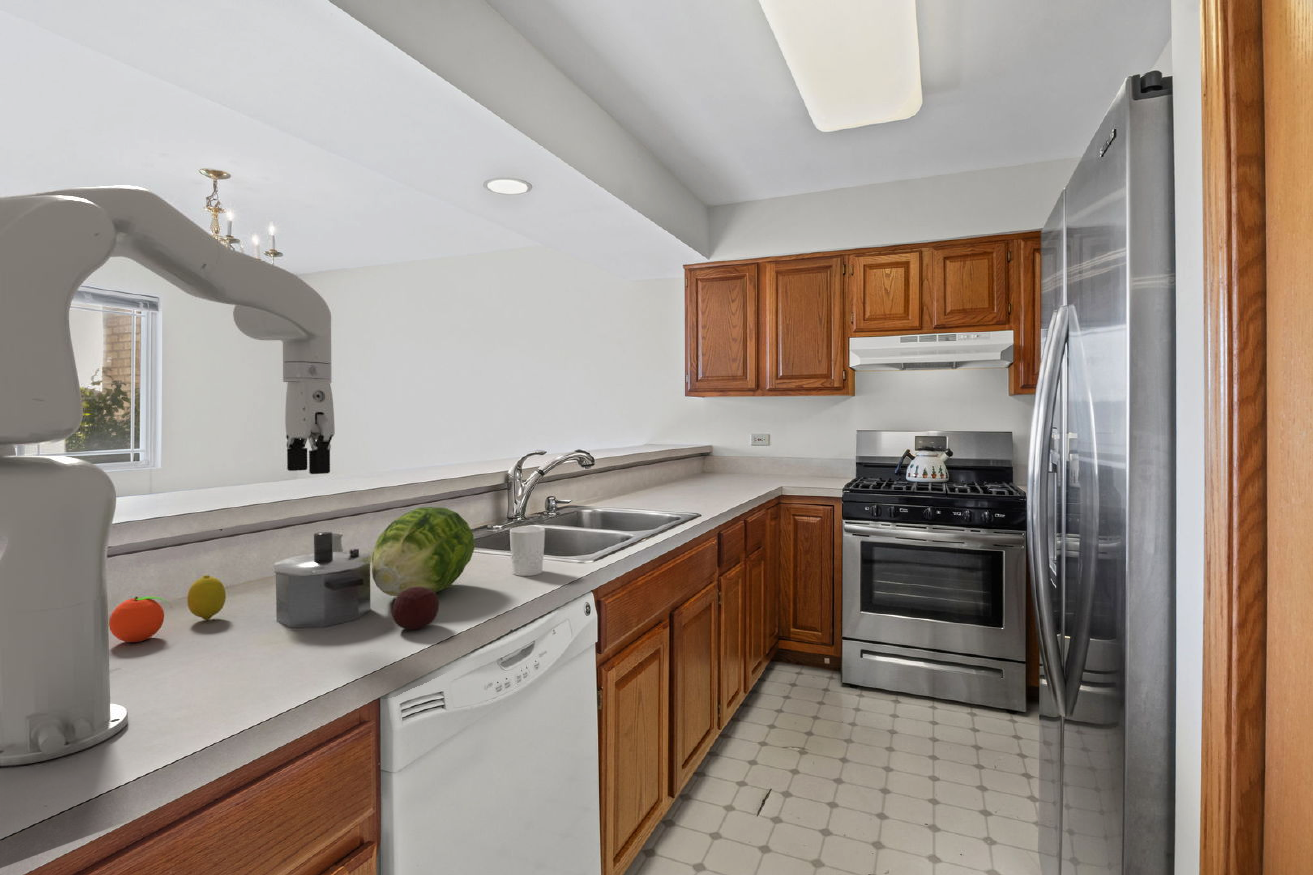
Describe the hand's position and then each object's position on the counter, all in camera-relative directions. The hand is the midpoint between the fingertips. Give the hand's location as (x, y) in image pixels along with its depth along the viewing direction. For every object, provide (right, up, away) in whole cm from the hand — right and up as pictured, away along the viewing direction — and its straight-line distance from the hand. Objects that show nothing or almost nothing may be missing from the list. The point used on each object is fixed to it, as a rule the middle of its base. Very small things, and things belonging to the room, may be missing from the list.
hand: (308, 471), depth 116 cm
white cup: (+32, -25, +35) cm, 54 cm away
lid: (+1, -17, +3) cm, 17 cm away
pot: (+1, -26, +3) cm, 26 cm away
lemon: (-18, -26, 0) cm, 32 cm away
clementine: (-21, -27, -10) cm, 36 cm away
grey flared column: (-9, -25, +28) cm, 39 cm away
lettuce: (+14, -26, +16) cm, 33 cm away
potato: (+20, -27, -4) cm, 34 cm away
